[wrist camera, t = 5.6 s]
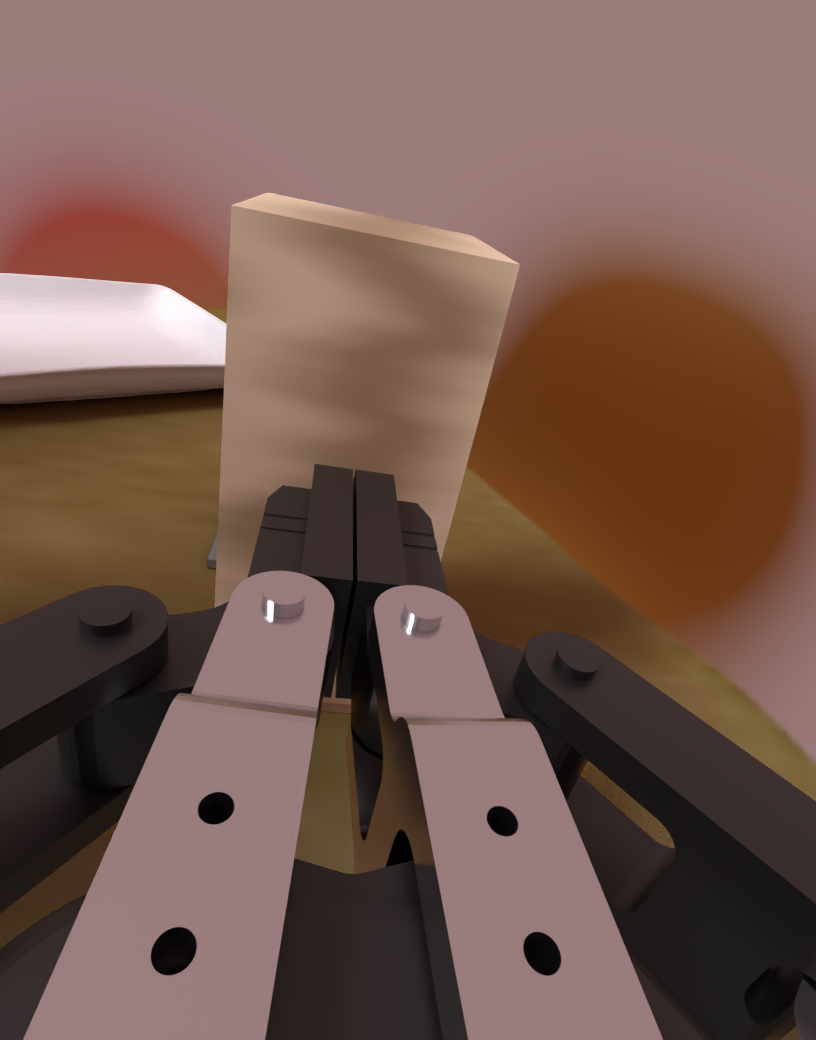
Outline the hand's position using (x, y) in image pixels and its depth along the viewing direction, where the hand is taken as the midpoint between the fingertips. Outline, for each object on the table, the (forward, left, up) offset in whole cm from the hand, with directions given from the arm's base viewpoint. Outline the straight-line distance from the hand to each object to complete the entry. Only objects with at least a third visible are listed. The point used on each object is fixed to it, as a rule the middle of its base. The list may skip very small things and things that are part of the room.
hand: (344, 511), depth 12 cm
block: (0, +7, -9) cm, 11 cm away
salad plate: (-18, +34, -10) cm, 39 cm away
